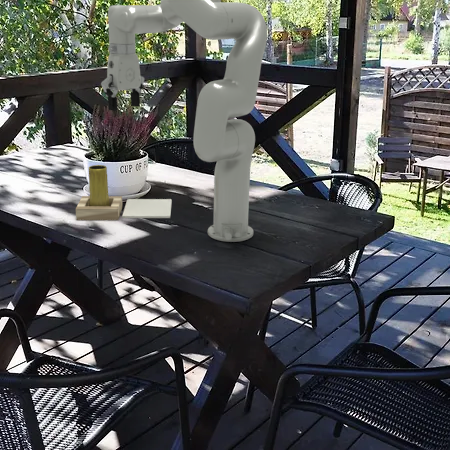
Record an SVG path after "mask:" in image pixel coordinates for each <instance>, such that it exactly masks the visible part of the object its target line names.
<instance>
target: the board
mask: <svg viewBox="0 0 450 450" xmlns="http://www.w3.org/2000/svg"><path fill="white" fill-rule="evenodd" d="M172 202H173V201H172V199H171V198H166V199H165V198H164V199H163V198H159V199H158V198H157V199H156V198H135V199H134V198H127V200H126V203H125V206H124V209H123V212H122V214H121V215H122V217H121V218H122V219H171V212H172Z"/></svg>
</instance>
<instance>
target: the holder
mask: <svg viewBox="0 0 450 450" xmlns="http://www.w3.org/2000/svg"><path fill="white" fill-rule="evenodd" d="M122 209H123V196H122V195H109V206H90V195H82V196H81V198H80V200H79V202H78V204H77V206H76V207H75V219H76V221H119V219H120V217H121V216H120V215H121V213H122Z"/></svg>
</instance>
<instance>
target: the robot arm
mask: <svg viewBox="0 0 450 450" xmlns="http://www.w3.org/2000/svg"><path fill="white" fill-rule="evenodd" d="M107 15H108V18H107V19H108V22H107V23H108V39H109V40H108V44H109V46H108V48H107V49H108V51H109V55H108V59H107V68H106V69H107V70H106V71H107V72H106V74H107V75H106V76H107V77H106V78H105V79H104V80H102V81H101V83H100V86H101V87H102V89H103V90H102V91H103V93H104V94H105V97H107V106H108V108H107V109H108V111H114V112H117V111H118V97H116V96H117V94H118V91H127V90H130V91H131V92H130V105H131V107H137V108H139V107H140V105H141V103H140V101H141V99H140V97H141V96H140V95H141V93H142V89H143V87H144V82H145V77H144V76H142V75H141V68H140V61H139V57H138V56H139V55H138V54H136V34H159V33H163V32H167V31H169V30H173V29H176V28H177V27H179V26H180V25H181V23H184V24H186V25H187V26H188V27H189V28H190V29H192V30H193V31H194V32H195V33H197V35H199V36H200V37H202V38H204V39H207V40H212V41H215V40H216V41H218V40H219V41H220V40H233V39H234V40H235V43H234V45H233V47H232V48H231V50H230V52H229V55H227V61H226V66H225V67H226V68H225V73H224V77H223V79H218V80H213V81H210V82H208V83H207V84H205V85H203V87H202V88H201V90H200V93H199V95H198V97H197V98H198V99H197V102H196V103H197V104H196V111H195V120H194V128H193V148H194V151H195V154H196V155H197V157H198V158H199V159H200V160H201V161H203V162H206V163H213V162H216V164H215V167H214V176H213V177H214V180H213V184H214V185H213V224H212V225H210V226H209V227H208V229H207V235H208V236H209V237H210V238H212V239H213V240H217V241H221V242H227V243H229V242H230V243H232V242H233V243H235V242H243V241H244V242H245V241H246V240H249V239H251V238H252V237H253V236H254V229H253V228H252V227H251V226H249V205H250V180H251V165H252V158H253V153H254V149H255V143H256V134H255V131H254V128H253V127H252V125H251V124H250V123H249V122H247V121H246V120H243V119H239V118H238V117H243V116H246V115H248V114H251V112H252V111H253V110H254V108H255V106H256V100H257V94H258V87H259V81H260V75H261V68H262V63H263V62H262V61H263V58H264V53H265V50H266V45H267V40H268V29H267V27H268V26H267V23H266V20H265V18H264V16H263V14H262V12H260V10H258V9H257V8H256V6H255V7H254V6H253V5H251V4H248V3H246V2H244V3H243V2H239V1H238V2H235V1H234V2H233V1H230V2H229V1H227V2H225V1H222V0H160V3H159V4H155V5H151V4H149V5H147V4H145V5H144V4H142V5H141V4H139V5H133V4H132V5H124V4H123V5H122V4H121V5H119V4H118V5H117V4H116V5H115V4H114V5H113V4H112V5H110V6H109V7H108V10H107ZM237 118H238V119H237Z"/></svg>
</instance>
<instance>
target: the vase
mask: <svg viewBox="0 0 450 450" xmlns="http://www.w3.org/2000/svg"><path fill="white" fill-rule="evenodd" d="M88 182H89V183H88V185H89V196H90V206H109V196H110V194H109V185H108V184H109V183H108V167H107V166H106V165H103V164H95V165H90V166H88Z"/></svg>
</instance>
